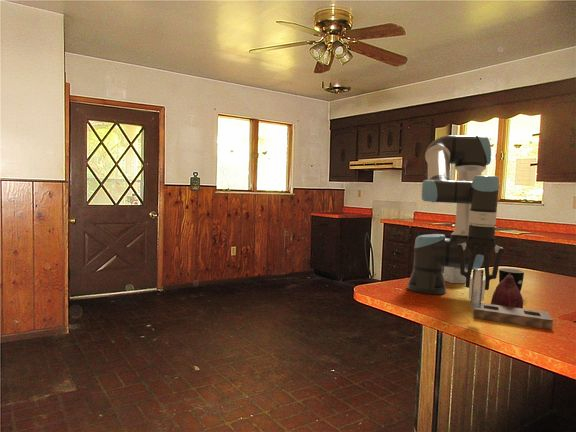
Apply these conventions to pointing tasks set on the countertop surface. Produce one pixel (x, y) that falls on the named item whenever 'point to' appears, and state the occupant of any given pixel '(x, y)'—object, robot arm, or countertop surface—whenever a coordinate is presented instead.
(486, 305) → the board
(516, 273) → the mug
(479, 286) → the pin
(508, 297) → the vegetable
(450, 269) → the supplement box
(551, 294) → the countertop surface
